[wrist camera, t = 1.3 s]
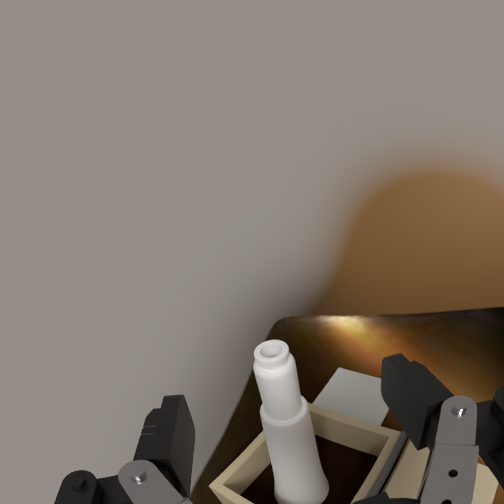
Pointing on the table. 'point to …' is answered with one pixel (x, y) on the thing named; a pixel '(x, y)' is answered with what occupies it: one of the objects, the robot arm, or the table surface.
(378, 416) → the mat
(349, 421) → the case
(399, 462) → the lid
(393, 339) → the table surface
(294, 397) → the cosmetic bottle
